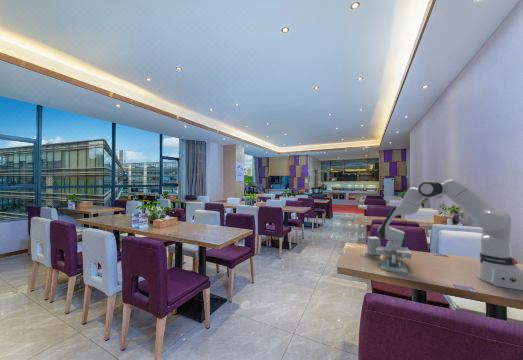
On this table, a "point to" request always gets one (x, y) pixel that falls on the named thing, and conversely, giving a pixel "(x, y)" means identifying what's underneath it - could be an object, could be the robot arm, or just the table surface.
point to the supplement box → (373, 245)
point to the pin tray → (399, 269)
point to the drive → (393, 258)
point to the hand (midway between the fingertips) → (393, 255)
